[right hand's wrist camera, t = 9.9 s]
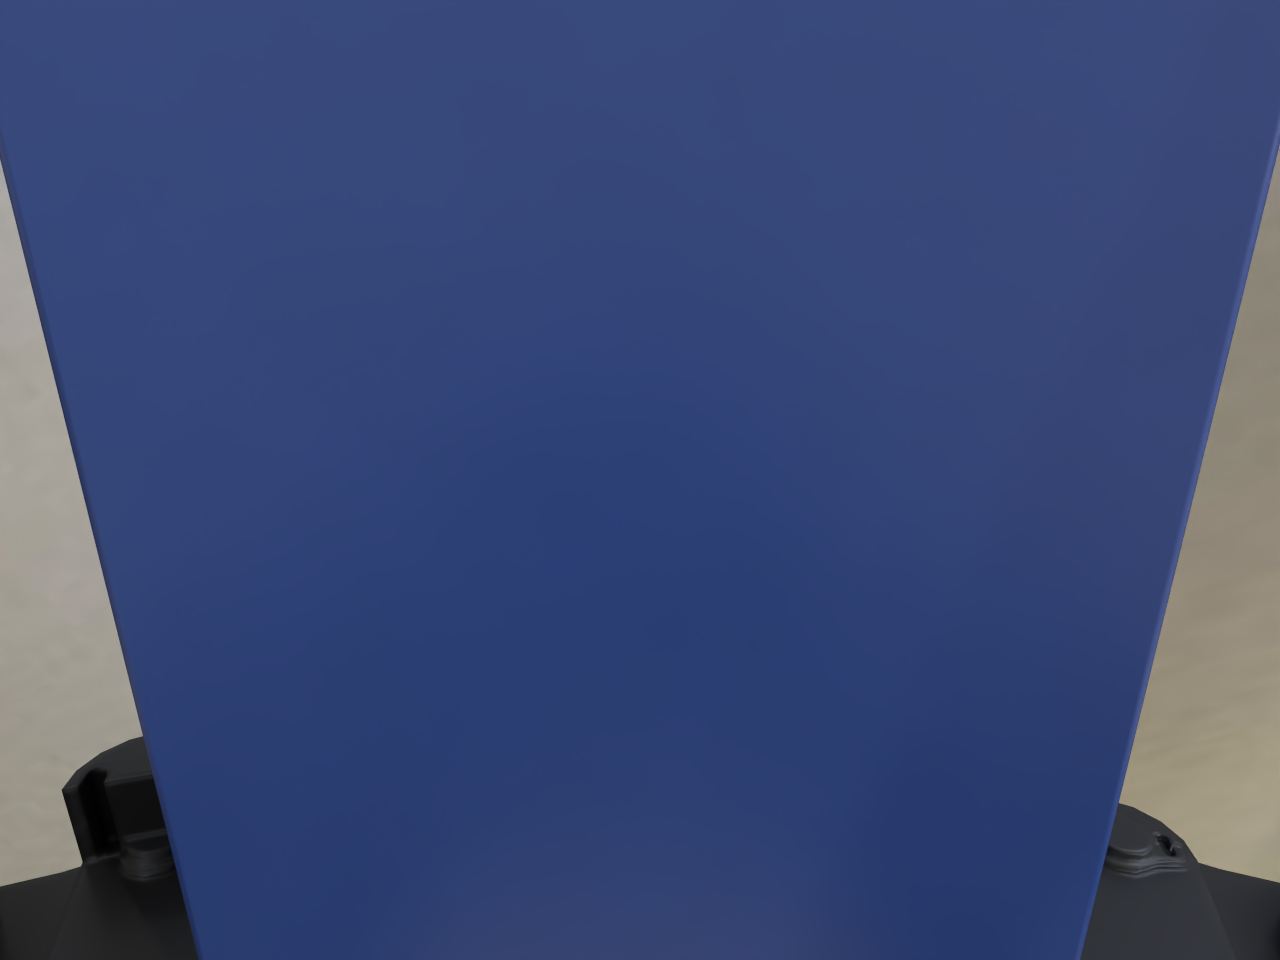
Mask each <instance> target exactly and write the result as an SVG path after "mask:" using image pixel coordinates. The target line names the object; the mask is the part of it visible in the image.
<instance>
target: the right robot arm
mask: <svg viewBox="0 0 1280 960" xmlns="http://www.w3.org/2000/svg"><path fill="white" fill-rule="evenodd" d="M62 793H63V796H64V800H65V803H66V806H67V810H68V813H69V817H70V820H71V823H72V827H73V830H74V834H75V837H76V840H77V844H78V847H79V851H80V854H81V857H82V861H83V863H82V865H81V867H78V868H75V869H71V870H68V871H65V872H61V873H57V874H53V875H49V876H44V877H40V878H36V879H31V880H27V881H23V882H18V883H14V884H10V885H5V886H1V887H0V960H199V959H198V955H197V951H196V947H195V943H194V939H193V935H192V931H191V927H190V923H189V919H188V915H187V911H186V907H185V903H184V899H183V895H182V891H181V887H180V883H179V879H178V875H177V871H176V866H175V862H174V858H173V854H172V850H171V846H170V842H169V838H168V834H167V830H166V826H165V822H164V818H163V814H162V810H161V806H160V802H159V798H158V794H157V790H156V786H155V782H154V778H153V774H152V770H151V766H150V761H149V757H148V753H147V749H146V745H145V741H144V737H139V738H135V739H131V740H128V741H126V742H124V743H122V744H120V745H117V746H115V747H113V748H111V749H109V750H106V751H104V752H102V753H100V754H99V755H97V756H96V757H95V758H93V759H92V760H91V761H89V762H88V763H86V764H85V765H84V766H82V767H81V768H80V769H78V770H77V771H76V772H75V773H74V775H73V776H72V777H71V779H70V780H69V781H68V782H67V784H66V785H65V786H64V788H63V789H62ZM1080 960H1280V883H1278V882H1273V881H1269V880H1265V879H1260V878H1256V877H1252V876H1247V875H1243V874H1239V873H1234V872H1230V871H1226V870H1221V869H1218V868H1214V867H1211V866H1208V865H1204V864H1201V863H1198V861H1197V860H1196V858H1195V857H1194V855H1193V854H1192V852H1191V851H1190V849H1189V848H1188V846H1187V845H1186V843H1185V842H1184V840H1182V839H1181V838H1180V837H1179V836H1178V835H1176V834H1175V833H1174V832H1173V831H1172V830H1170V829H1169V828H1168V827H1167V826H1166V825H1164V824H1163V823H1162V822H1161V821H1159V820H1157V819H1155V818H1153V817H1151V816H1149V815H1147V814H1145V813H1143V812H1141V811H1139V810H1137V809H1136V808H1134V807H1130V806H1127V805H1123V804H1120V803H1118V807H1117V811H1116V815H1115V819H1114V823H1113V827H1112V831H1111V836H1110V840H1109V844H1108V848H1107V852H1106V856H1105V860H1104V864H1103V868H1102V872H1101V876H1100V881H1099V885H1098V889H1097V893H1096V897H1095V901H1094V905H1093V909H1092V913H1091V917H1090V921H1089V925H1088V930H1087V934H1086V938H1085V942H1084V946H1083V950H1082V954H1081V958H1080Z"/></svg>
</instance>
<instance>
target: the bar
mask: <svg viewBox="0 0 1280 960" xmlns="http://www.w3.org/2000/svg"><path fill="white" fill-rule="evenodd" d="M1279 144H1280V0H0V160H1V164H2V168H3V172H4V176H5V180H6V184H7V188H8V192H9V196H10V200H11V204H12V208H13V212H14V216H15V220H16V224H17V228H18V232H19V236H20V240H21V245H22V249H23V253H24V257H25V261H26V265H27V269H28V273H29V277H30V281H31V285H32V289H33V293H34V297H35V301H36V305H37V309H38V313H39V317H40V321H41V325H42V329H43V333H44V337H45V341H46V345H47V350H48V354H49V358H50V362H51V366H52V370H53V374H54V378H55V382H56V386H57V390H58V394H59V398H60V402H61V406H62V410H63V414H64V418H65V422H66V426H67V430H68V434H69V438H70V442H71V446H72V450H73V455H74V459H75V463H76V467H77V471H78V475H79V479H80V483H81V487H82V491H83V495H84V499H85V503H86V507H87V511H88V515H89V519H90V523H91V527H92V531H93V535H94V539H95V543H96V547H97V551H98V555H99V560H100V564H101V568H102V572H103V576H104V580H105V584H106V588H107V592H108V596H109V600H110V604H111V608H112V612H113V616H114V620H115V624H116V628H117V632H118V636H119V640H120V644H121V648H122V652H123V656H124V660H125V665H126V669H127V673H128V677H129V681H130V685H131V689H132V693H133V697H134V701H135V705H136V709H137V713H138V717H139V721H140V725H141V729H142V733H143V737H144V741H145V745H146V749H147V753H148V757H149V761H150V766H151V770H152V774H153V778H154V782H155V786H156V790H157V794H158V798H159V802H160V806H161V810H162V814H163V818H164V822H165V826H166V830H167V834H168V838H169V842H170V846H171V850H172V854H173V858H174V862H175V866H176V871H177V875H178V879H179V883H180V887H181V891H182V895H183V899H184V903H185V907H186V911H187V915H188V919H189V923H190V927H191V931H192V935H193V939H194V943H195V947H196V951H197V955H198V959H199V960H1080V958H1081V954H1082V950H1083V946H1084V942H1085V938H1086V934H1087V930H1088V925H1089V921H1090V917H1091V913H1092V909H1093V905H1094V901H1095V897H1096V893H1097V889H1098V885H1099V881H1100V876H1101V872H1102V868H1103V864H1104V860H1105V856H1106V852H1107V848H1108V844H1109V840H1110V836H1111V831H1112V827H1113V823H1114V819H1115V815H1116V811H1117V807H1118V803H1119V799H1120V795H1121V791H1122V786H1123V782H1124V778H1125V774H1126V770H1127V766H1128V762H1129V758H1130V754H1131V750H1132V746H1133V741H1134V737H1135V733H1136V729H1137V725H1138V721H1139V717H1140V713H1141V709H1142V705H1143V701H1144V697H1145V692H1146V688H1147V684H1148V680H1149V676H1150V672H1151V668H1152V664H1153V660H1154V656H1155V652H1156V647H1157V643H1158V639H1159V635H1160V631H1161V627H1162V623H1163V619H1164V615H1165V611H1166V607H1167V602H1168V598H1169V594H1170V590H1171V586H1172V582H1173V578H1174V574H1175V570H1176V566H1177V562H1178V557H1179V553H1180V549H1181V545H1182V541H1183V537H1184V533H1185V529H1186V525H1187V521H1188V517H1189V513H1190V508H1191V504H1192V500H1193V496H1194V492H1195V488H1196V484H1197V480H1198V476H1199V472H1200V468H1201V463H1202V459H1203V455H1204V451H1205V447H1206V443H1207V439H1208V435H1209V431H1210V427H1211V423H1212V418H1213V414H1214V410H1215V406H1216V402H1217V398H1218V394H1219V390H1220V386H1221V382H1222V378H1223V373H1224V369H1225V365H1226V361H1227V357H1228V353H1229V349H1230V345H1231V341H1232V337H1233V333H1234V328H1235V324H1236V320H1237V316H1238V312H1239V308H1240V304H1241V300H1242V296H1243V292H1244V288H1245V284H1246V279H1247V275H1248V271H1249V267H1250V263H1251V259H1252V255H1253V251H1254V247H1255V243H1256V239H1257V234H1258V230H1259V226H1260V222H1261V218H1262V214H1263V210H1264V206H1265V202H1266V198H1267V194H1268V189H1269V185H1270V181H1271V177H1272V173H1273V169H1274V165H1275V161H1276V157H1277V153H1278V149H1279Z"/></svg>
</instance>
